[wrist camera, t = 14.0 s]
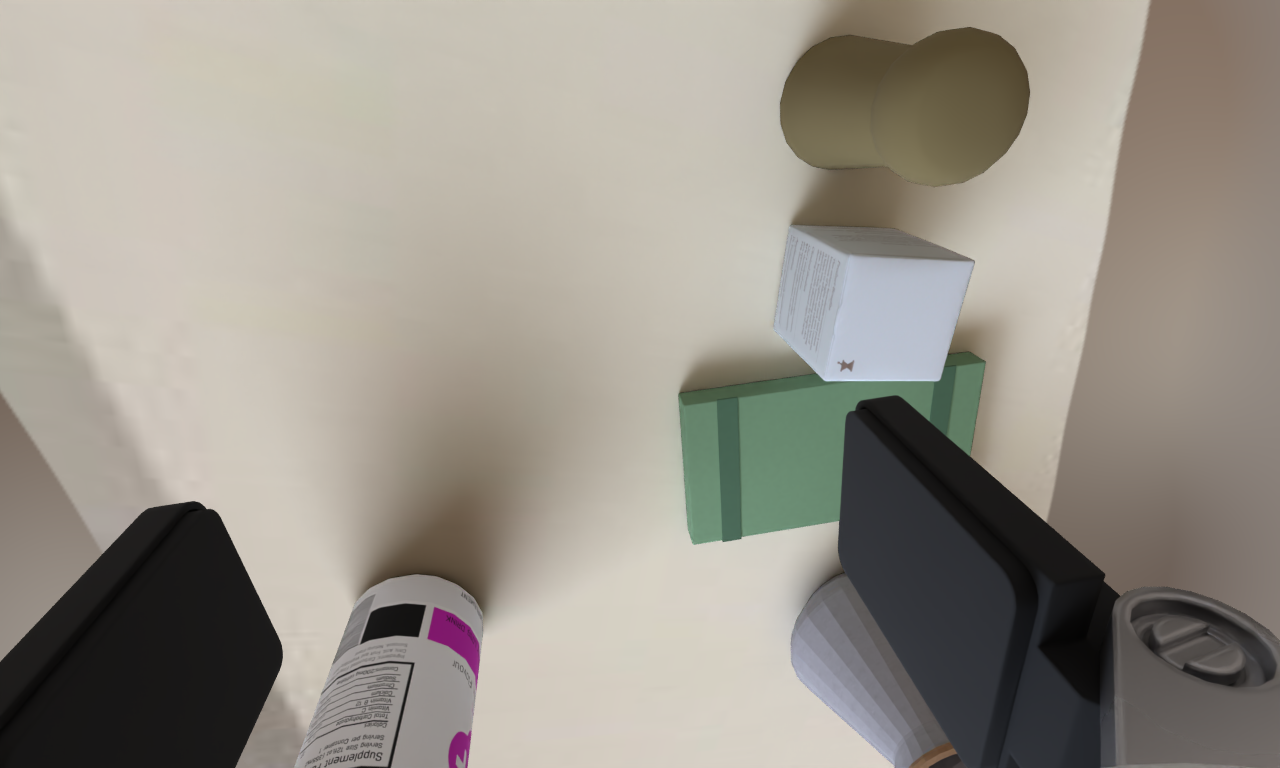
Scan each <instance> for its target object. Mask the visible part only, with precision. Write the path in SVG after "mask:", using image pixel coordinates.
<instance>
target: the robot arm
mask: <svg viewBox="0 0 1280 768" xmlns="http://www.w3.org/2000/svg"><path fill="white" fill-rule="evenodd" d="M838 553H839V558H840V562H841V565H842V567H843V569H844V571H845V573H846V575H847V576H848V578H849V580H850V581H851V583H852V584H853V586H854V588H855V589H856V591H857V592H858V594H859V596H860V597H861V599H862V601H863V602H864V604H865V605H866V607H867V609H868V610H869V612H870V613H871V615H872V617H873V618H874V620H875V622H876V623H877V625H878V626H879V628H880V630H881V631H882V633H883V635H884V636H885V638H886V639H887V641H888V643H889V644H890V646H891V647H892V649H893V651H894V652H895V654H896V656H897V657H898V659H899V660H900V662H901V664H902V665H903V667H904V668H905V670H906V672H907V673H908V675H909V677H910V678H911V680H912V681H913V683H914V685H915V686H916V688H917V689H918V691H919V693H920V694H921V696H922V698H923V699H924V701H925V702H926V704H927V706H928V707H929V709H930V710H931V712H932V714H933V715H934V717H935V719H936V720H937V722H938V723H939V725H940V727H941V728H942V730H943V731H944V733H945V735H946V736H947V738H948V740H949V741H950V743H951V744H952V746H953V748H954V749H955V751H956V752H957V754H958V756H959V757H960V759H961V760H962V762H963V763H964V764H965V766H966V767H967V768H1280V640H1279V639H1278V638H1277V637H1276V636H1275V635H1274V634H1273V633H1272V632H1271V631H1270V630H1269V629H1267V628H1266V627H1264V626H1263V625H1261V624H1260V623H1258V622H1257V621H1255V620H1254V619H1252V618H1251V617H1249V616H1248V615H1247V614H1245V613H1243V612H1241V611H1239V610H1237V609H1235V608H1233V607H1231V606H1229V605H1227V604H1225V603H1222V602H1220V601H1218V600H1215V599H1212V598H1210V597H1206V596H1204V595H1201V594H1197V593H1194V592H1192V591H1186V590H1181V589H1175V588H1170V587H1141V588H1138V589H1134V590H1130V591H1127V592H1125V593H1124V594H1123V595H1122V596H1120V595H1119V594H1118V593H1116V592H1115V591H1114V590H1113V589H1112V588H1111V587H1110V586H1108V585H1107V584H1106V583H1105V582H1104V578H1105V573H1104V572H1102V571H1101V570H1100V569H1099V568H1098V567H1097V566H1095V565H1094V564H1093V563H1092V562H1091V561H1090V560H1089V559H1087V558H1086V557H1085V556H1084V555H1083V554H1082V553H1080V552H1079V551H1078V550H1077V549H1076V548H1074V547H1073V546H1072V545H1071V544H1070V543H1069V542H1068V541H1066V540H1065V539H1064V538H1063V537H1062V536H1061V535H1060V534H1059V533H1057V532H1056V531H1055V530H1054V529H1053V528H1052V527H1050V526H1049V525H1048V524H1047V523H1046V522H1045V521H1044V520H1042V519H1041V518H1040V517H1039V516H1038V515H1037V514H1036V513H1034V512H1033V511H1032V510H1031V509H1030V508H1029V507H1027V506H1026V505H1025V504H1024V503H1023V502H1022V501H1021V500H1019V499H1018V498H1017V497H1016V496H1015V495H1014V494H1012V493H1011V492H1010V491H1009V490H1008V489H1007V488H1006V487H1004V486H1003V485H1002V484H1001V483H1000V482H999V481H998V480H996V479H995V478H994V477H993V476H992V475H991V474H989V473H988V472H987V471H986V470H985V469H984V468H983V467H981V466H980V465H979V464H978V463H977V462H976V461H974V460H973V459H972V458H971V457H970V456H969V455H968V454H966V453H965V452H964V451H963V450H962V449H961V448H959V447H958V446H957V445H956V444H955V443H954V442H953V441H951V440H950V439H949V438H948V437H947V436H946V435H945V434H943V433H942V432H941V431H940V430H939V429H938V428H936V427H935V426H934V425H933V424H932V423H931V422H930V421H928V420H927V419H926V418H925V417H924V416H923V415H921V414H920V413H919V412H918V411H917V410H916V409H915V408H913V407H912V406H911V405H910V404H909V403H908V402H906V401H905V400H904V399H903V398H902V397H900V396H898V395H893V396H886V397H879V398H873V399H866V400H861V401H859V402H858V403H857V406H856V408H855V411H850V412H848V413H847V416H846V420H845V435H844V452H843V469H842V486H841V503H840V520H839V537H838ZM282 659H283V650H282V645H281V642H280V639H279V637H278V635H277V633H276V631H275V629H274V627H273V625H272V623H271V621H270V619H269V617H268V615H267V613H266V610H265V608H264V606H263V604H262V602H261V600H260V598H259V596H258V594H257V592H256V590H255V588H254V586H253V584H252V581H251V579H250V577H249V575H248V573H247V571H246V569H245V567H244V565H243V563H242V561H241V559H240V557H239V555H238V553H237V550H236V548H235V546H234V544H233V542H232V540H231V538H230V536H229V534H228V532H227V530H226V528H225V526H224V524H223V522H222V519H221V518H220V516H219V514H218V513H217V512H216V511H214V510H211V509H206V508H205V506H203V505H202V504H201V503H199V502H195V501H192V502H185V503H179V504H172V505H165V506H159V507H153V508H149V509H147V510H145V511H144V512H143V513H141V514H140V515H139V516H138V517H137V519H136V520H135V521H134V522H133V523H132V524H131V525H130V526H129V527H128V528H127V529H126V530H125V531H124V532H123V533H122V534H121V535H120V536H119V537H118V539H117V540H116V541H115V542H114V543H113V544H112V545H111V546H110V547H109V548H108V549H107V550H106V551H105V552H104V553H103V554H102V555H101V556H100V557H99V559H98V560H97V561H96V562H95V563H94V564H93V565H92V566H91V567H90V568H89V569H88V570H87V571H86V572H85V574H83V575H82V576H81V577H80V579H79V580H78V581H77V582H76V583H75V584H74V585H73V586H72V587H71V588H70V589H69V590H68V591H67V592H66V593H65V594H64V595H63V596H62V597H61V598H60V600H59V601H58V602H57V603H56V604H55V605H54V606H53V607H52V608H51V609H50V610H49V611H48V612H47V613H46V614H45V615H44V616H43V618H41V619H40V621H39V622H38V623H37V624H36V625H35V626H34V627H33V628H32V629H31V630H30V631H29V632H28V633H27V634H26V635H25V637H23V638H22V639H21V641H20V642H19V643H18V644H17V645H16V646H15V647H14V648H13V649H12V650H11V651H10V652H9V653H8V654H7V655H6V656H5V657H4V658H3V660H2V661H1V662H0V768H235V767H236V765H237V762H238V760H239V758H240V756H241V754H242V752H243V749H244V747H245V745H246V743H247V741H248V738H249V736H250V734H251V732H252V730H253V727H254V725H255V723H256V721H257V719H258V717H259V714H260V712H261V710H262V708H263V706H264V703H265V701H266V699H267V697H268V695H269V692H270V690H271V688H272V686H273V684H274V682H275V679H276V677H277V675H278V673H279V671H280V668H281V665H282Z"/></svg>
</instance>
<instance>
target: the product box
mask: <svg viewBox="0 0 1280 768" xmlns="http://www.w3.org/2000/svg"><path fill="white" fill-rule="evenodd" d="M974 264H975V261H974V260H972V259H970V258H968V257H965V256H963V255H960V254H958V253H956V252H953V251H951V250H948V249H946V248H943V247H941V246H938V245H936V244H933V243H931V242H928V241H926V240H923V239H920V238H918V237H915V236H912V235H910V234H907V233H905V232H902V231H900V230H897V229H893V228H867V227H838V226H808V225H790V227H789V233H788V239H787V245H786V251H785V257H784V264H783V270H782V276H781V282H780V289H779V296H778V302H777V309H776V315H775V323H774V330H775V332H776V333H777V334H778V335H779V336H780V337H781V338H783V340H784V341H785V342H786V343H787V344H788V345H789V346H790V347H791V348H792V349H793V350H794V351H795V352H796V353H797V354H798V355H799V356H800V357H801V358H802V359H803V360H804V361H805V362H806V363H807V364H808V365H809V366H810V367H811V368H812V369H813V370H814V371H815V372H816V373H817V374H818V375H819V376H820V377H821V378H822V379H823V380H824V381H939V380H940V379H941V375H942V372H943V368H944V365H945V361H946V358H947V354H948V351H949V348H950V344H951V341H952V338H953V334H954V331H955V327H956V324H957V321H958V317H959V314H960V311H961V307H962V304H963V300H964V297H965V293H966V290H967V287H968V284H969V280H970V277H971V274H972V271H973V267H974Z"/></svg>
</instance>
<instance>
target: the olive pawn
mask: <svg viewBox="0 0 1280 768" xmlns="http://www.w3.org/2000/svg"><path fill="white" fill-rule="evenodd" d="M1029 97H1030V88H1029V81H1028V74H1027V70H1026V68H1025V66H1024V64H1023V62H1022V60H1021V58H1020V57H1019V55H1018V53H1017V51H1016V49H1015V48H1014V47H1013V46H1012V45H1011V44H1009V43H1008V42H1007V41H1006V40H1004V39H1003V38H1002V37H1001V36H1000V35H997V34H994V33H991V32H987V31H984V30H980V29H976V28H972V27H967V28H959V29H952V30H945V31H940V32H936V33H934V34H932V35H931V36H929V37H927V38H925V39H923V40H921V41H919V42H917V43H915V44H914V45H907V44H901V43H895V42H889V41H883V40H877V39H871V38H865V37H859V36H853V35H846V36H839V37H832V38H829V39H827V40H825V41H823V42H821V43H819V44H817V45H815V46H813V47H812V48H811V49H810V50H809V51H808V52H807V53H806V54H805V55H804V56H803V57H802V58H801V59H800V60H799V61H798V62H797V63H796V64H795V66H794V68H793V70H792V71H791V73H790V75H789V77H788V78H787V80H786V82H785V86H784V90H783V94H782V98H781V102H780V121H781V127H782V130H783V133H784V136H785V139H786V142H787V144H788V145H789V146H790V148H791V149H792V150H793V152H794V153H795V154H796V156H797V157H798V158H800V159H802V160H803V161H805V162H806V163H808V164H809V165H811V166H813V167H818V168H823V169H828V170H833V169H854V168H874V167H889V168H890V169H891V170H892V171H893V172H895V173H896V174H898V175H899V176H901V177H902V178H904V179H905V180H907V181H909V182H913V183H917V184H922V185H927V186H932V187H938V186H945V185H951V184H957V183H963V182H965V181H967V180H970V179H972V178H974V177H976V176H978V175H980V174H982V173H984V172H985V171H986V170H987V169H988V168H989V167H991V166H992V165H993V164H994V163H995V162H996V161H997V160H999V159H1000V158H1001V157H1002V156H1003V155H1004V154H1005V153H1006V152H1007V151H1008V149H1009V148H1010V146H1011V145H1012V144H1013V142H1014V141H1015V139H1016V138H1017V137H1018V135H1019V133H1020V130H1021V128H1022V125H1023V123H1024V120H1025V118H1026V116H1027V111H1028V104H1029Z"/></svg>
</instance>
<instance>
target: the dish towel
mask: <svg viewBox="0 0 1280 768" xmlns="http://www.w3.org/2000/svg"><path fill="white" fill-rule="evenodd" d="M985 364H986V362H985V361H984V360H982V359H981V358H979V357H977V356H976V355H974V354H973V353H971V352H964V353H957V354H950V355H947V358H946V361H945V365H944V368H943V372H942V375H941V379H940V380H939V381H824V380H823V379H822V378H821V377H820V376H819V375H818V374H810V375H803V376H796V377H789V378H782V379H775V380H768V381H762V382H755V383H748V384H741V385H734V386H727V387H720V388H713V389H706V390H699V391H692V392H685V393H679V410H680V424H681V438H682V452H683V466H684V480H685V494H686V509H687V523H688V531H689V534H690V537H691V540H692V543H693V545H695V544H701V543H707V542H713V541H719V540H722V541H723V542H726V541H732V540H738V539H741V537H744V536H750V535H756V534H762V533H768V532H774V531H780V530H786V529H792V528H799V527H805V526H811V525H817V524H823V523H829V522H835V521H839V520H840V503H841V486H842V469H843V452H844V435H845V420H846V416H847V413H848V412H850V411H855V408H856V406H857V403H858V402H859V401H861V400H866V399H873V398H879V397H886V396H893V395H898V396H900V397H902V398H903V399H904V400H905V401H906V402H908V403H909V404H910V405H911V406H912V407H913V408H915V409H916V410H917V411H918V412H919V413H920V414H921V415H923V416H924V417H925V418H926V419H927V420H928V421H930V422H931V423H932V424H933V425H934V426H935V427H936V428H938V429H939V430H940V431H941V432H942V433H943V434H945V435H946V436H947V437H948V438H949V439H950V440H951V441H953V442H954V443H955V444H956V445H957V446H958V447H959V448H961V449H962V450H963V451H964V452H965V453H966V454H968V455H969V456H970V454H971V448H972V442H973V436H974V430H975V424H976V418H977V412H978V406H979V400H980V394H981V388H982V382H983V376H984V370H985Z"/></svg>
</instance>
